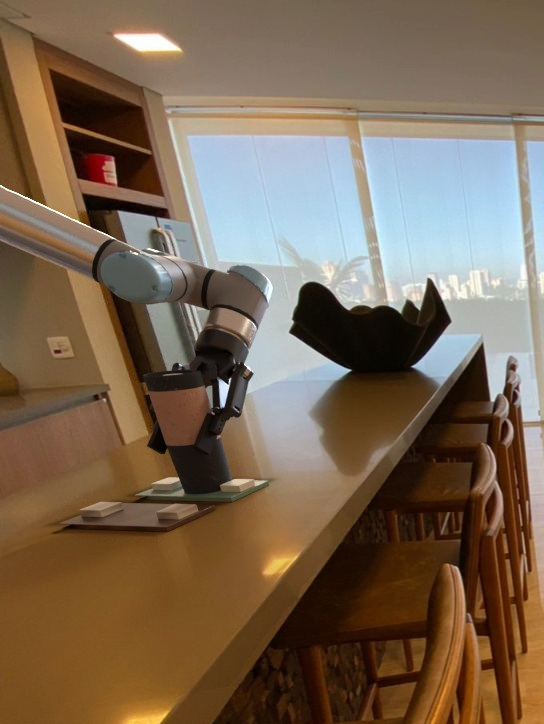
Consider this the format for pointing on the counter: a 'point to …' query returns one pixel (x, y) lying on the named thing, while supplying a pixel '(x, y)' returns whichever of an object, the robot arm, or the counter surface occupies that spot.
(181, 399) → the travel mug
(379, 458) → the counter surface
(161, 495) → the strip
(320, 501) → the counter surface
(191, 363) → the robot arm
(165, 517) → the strip
